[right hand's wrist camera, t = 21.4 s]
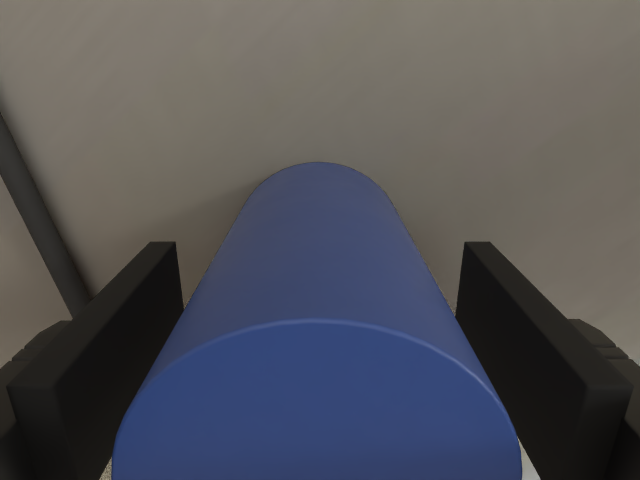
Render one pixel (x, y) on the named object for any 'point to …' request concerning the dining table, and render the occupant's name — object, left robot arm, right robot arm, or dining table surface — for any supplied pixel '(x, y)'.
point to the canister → (317, 355)
